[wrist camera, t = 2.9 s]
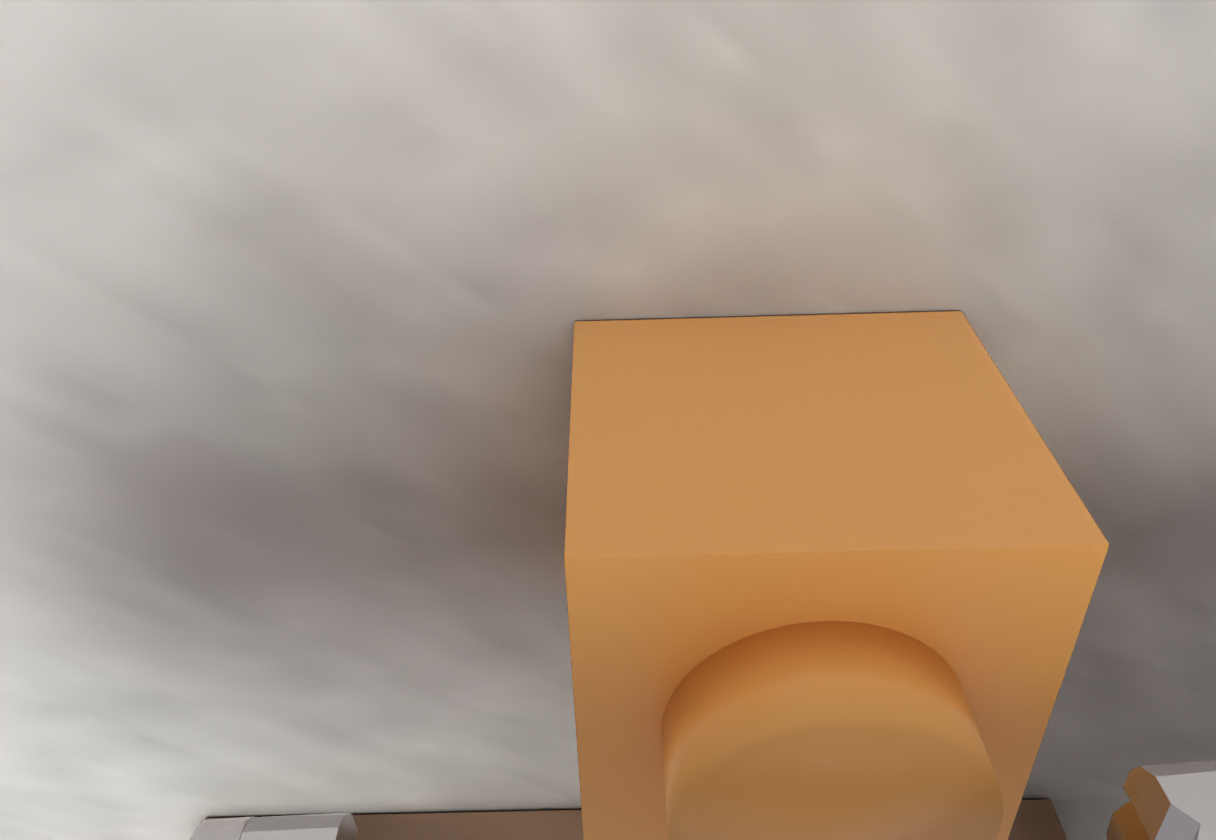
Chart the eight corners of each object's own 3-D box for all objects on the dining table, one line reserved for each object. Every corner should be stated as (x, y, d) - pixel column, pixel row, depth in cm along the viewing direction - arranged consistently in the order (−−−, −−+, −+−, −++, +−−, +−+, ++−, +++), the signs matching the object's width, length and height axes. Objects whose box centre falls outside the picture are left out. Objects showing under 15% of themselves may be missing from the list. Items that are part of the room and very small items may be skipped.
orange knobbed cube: (961, 311, 13) (1172, 642, 8) (906, 591, 16) (1038, 958, 11) (574, 321, 13) (559, 657, 8) (588, 600, 16) (584, 968, 11)
